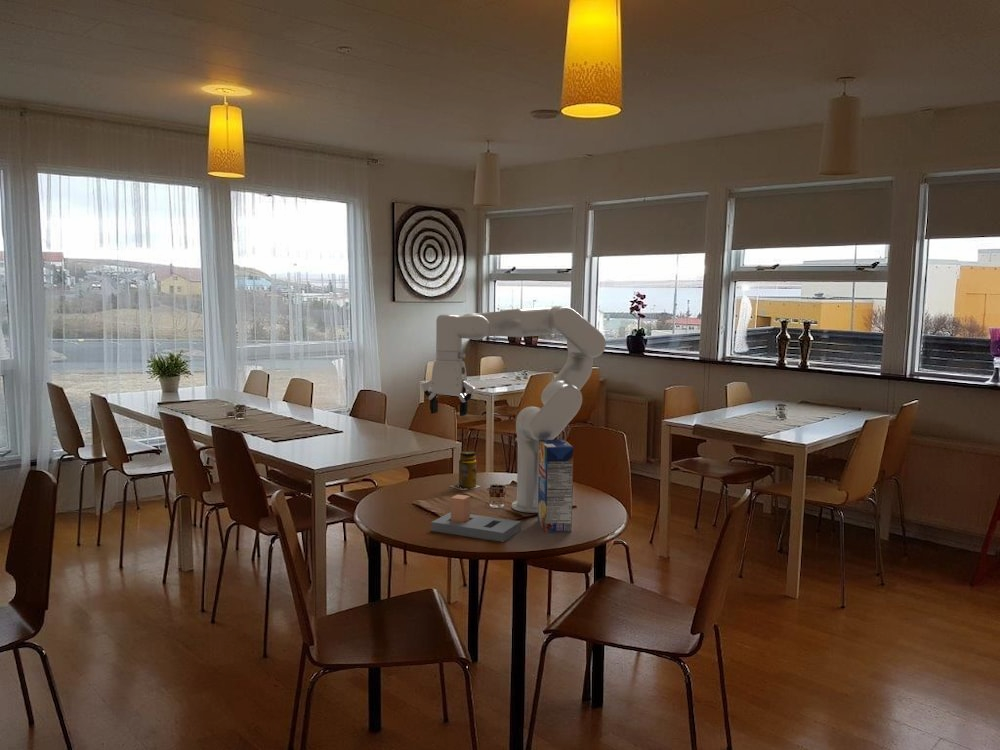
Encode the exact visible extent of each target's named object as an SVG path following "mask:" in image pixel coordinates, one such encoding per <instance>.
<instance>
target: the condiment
mask: <svg viewBox="0 0 1000 750" xmlns="http://www.w3.org/2000/svg"><path fill="white" fill-rule="evenodd" d="M459 456H460V457H459V460H458V484H453V485H449V487H451V488H453V489H457V490H461V491H468V490H471V489H477V488H481V487H482V485H478V484H477V464H478V463H477V459H476V458H477V457H476V452H475V451H471V450H469V451H468V450H467V451H466V450H465V451H461V452H460V454H459ZM458 485H459V487H458ZM460 487H461V488H460ZM462 488H465V489H462ZM468 488H470V489H468Z"/></svg>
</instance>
